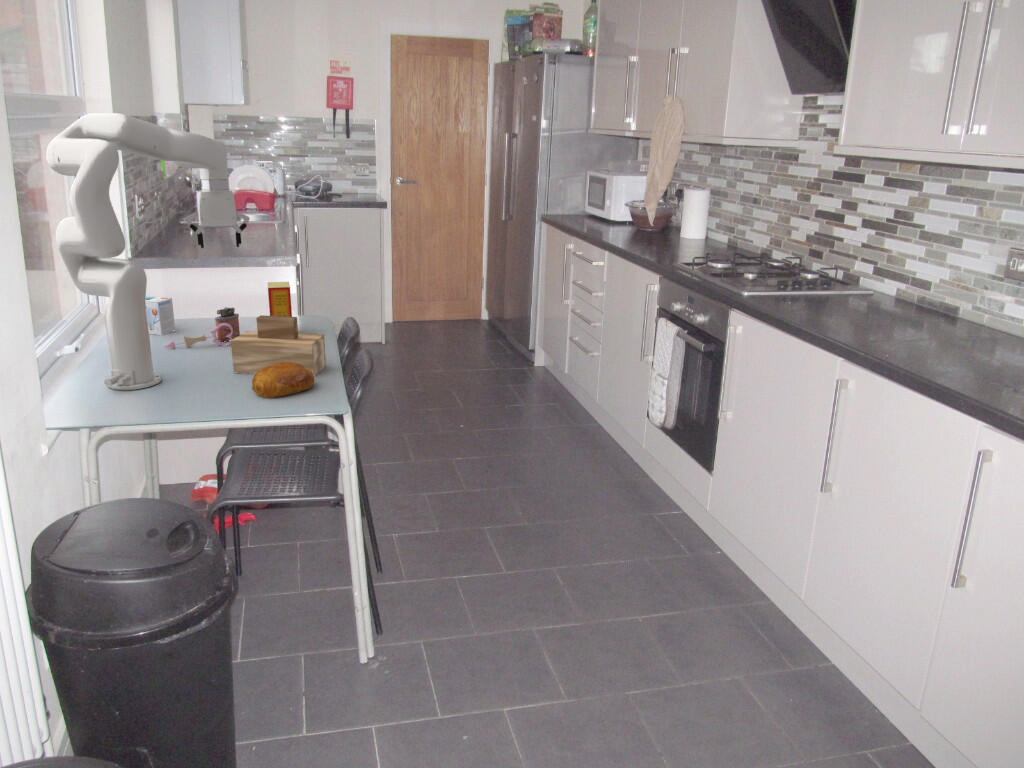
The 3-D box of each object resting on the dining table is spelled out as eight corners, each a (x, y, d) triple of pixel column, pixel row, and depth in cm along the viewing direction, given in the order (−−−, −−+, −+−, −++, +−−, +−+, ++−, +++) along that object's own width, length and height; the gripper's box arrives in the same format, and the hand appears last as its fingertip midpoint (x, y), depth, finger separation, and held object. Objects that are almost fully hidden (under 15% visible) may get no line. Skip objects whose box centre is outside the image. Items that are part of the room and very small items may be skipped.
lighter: (235, 336, 255) (232, 304, 252) (243, 337, 253) (240, 306, 250) (214, 341, 248) (211, 309, 245) (222, 343, 246) (219, 311, 243)
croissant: (322, 398, 206) (325, 367, 205) (265, 403, 196) (268, 370, 194) (294, 383, 216) (296, 354, 214) (238, 387, 205) (240, 356, 204)
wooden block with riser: (312, 351, 214) (310, 323, 211) (231, 347, 216) (228, 320, 213) (324, 341, 223) (323, 314, 221) (246, 338, 225) (244, 311, 223)
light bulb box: (133, 332, 257) (129, 299, 254) (148, 328, 263) (144, 295, 260) (162, 335, 254) (158, 301, 251) (176, 330, 260) (172, 297, 257)
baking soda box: (271, 330, 262) (267, 281, 257) (292, 329, 264) (288, 280, 259) (271, 337, 254) (267, 286, 249) (293, 336, 255) (289, 286, 251)
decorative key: (167, 358, 241) (236, 342, 246) (166, 359, 240) (236, 343, 245) (160, 336, 239) (230, 321, 244) (160, 337, 238) (230, 322, 243)
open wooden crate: (314, 376, 216) (312, 347, 213) (233, 373, 218) (231, 344, 215) (325, 366, 225) (324, 338, 223) (249, 362, 227) (246, 334, 225)
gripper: (181, 187, 223) (187, 249, 228) (247, 186, 229) (252, 248, 234) (182, 185, 230) (188, 246, 235) (246, 185, 235) (251, 244, 240)
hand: (220, 247), depth 234 cm, fingers open, 9 cm apart
